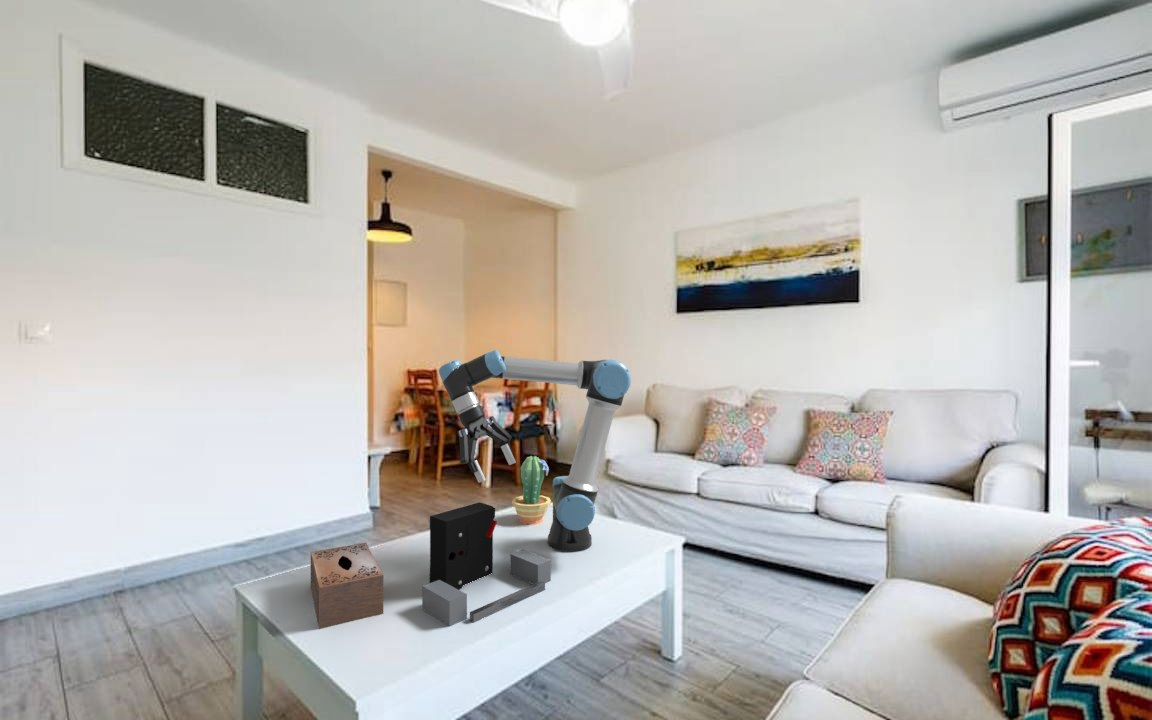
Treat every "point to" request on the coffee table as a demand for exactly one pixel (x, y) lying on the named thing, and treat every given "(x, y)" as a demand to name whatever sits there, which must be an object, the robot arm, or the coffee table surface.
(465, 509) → the electrical component
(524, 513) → the potted cactus
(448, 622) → the block
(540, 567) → the block
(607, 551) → the coffee table surface
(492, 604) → the metal rail
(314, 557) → the tissue box cover
